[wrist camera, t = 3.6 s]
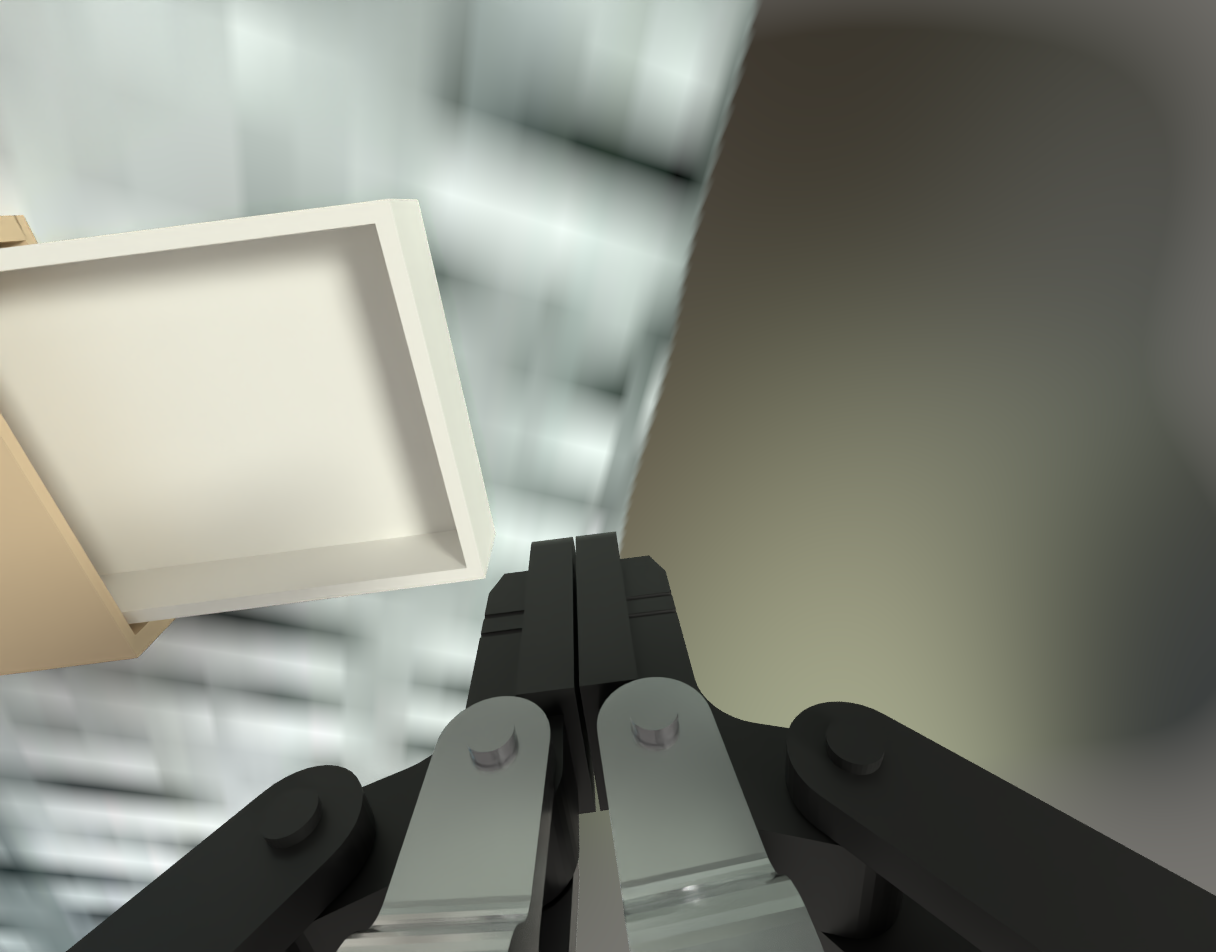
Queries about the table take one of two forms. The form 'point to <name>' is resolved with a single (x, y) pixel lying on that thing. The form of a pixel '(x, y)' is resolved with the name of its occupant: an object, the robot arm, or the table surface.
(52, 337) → the tray
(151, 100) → the table surface
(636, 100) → the table surface
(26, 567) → the mailer sleeve
